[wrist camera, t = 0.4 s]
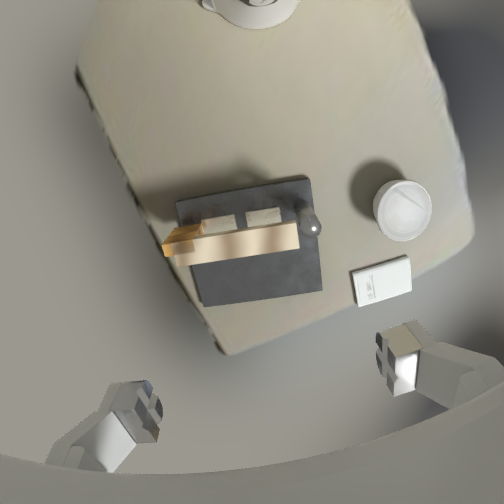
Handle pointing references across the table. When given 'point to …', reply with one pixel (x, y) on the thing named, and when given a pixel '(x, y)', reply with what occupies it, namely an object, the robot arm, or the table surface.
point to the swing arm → (229, 242)
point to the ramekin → (402, 209)
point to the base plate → (264, 265)
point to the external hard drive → (382, 281)
